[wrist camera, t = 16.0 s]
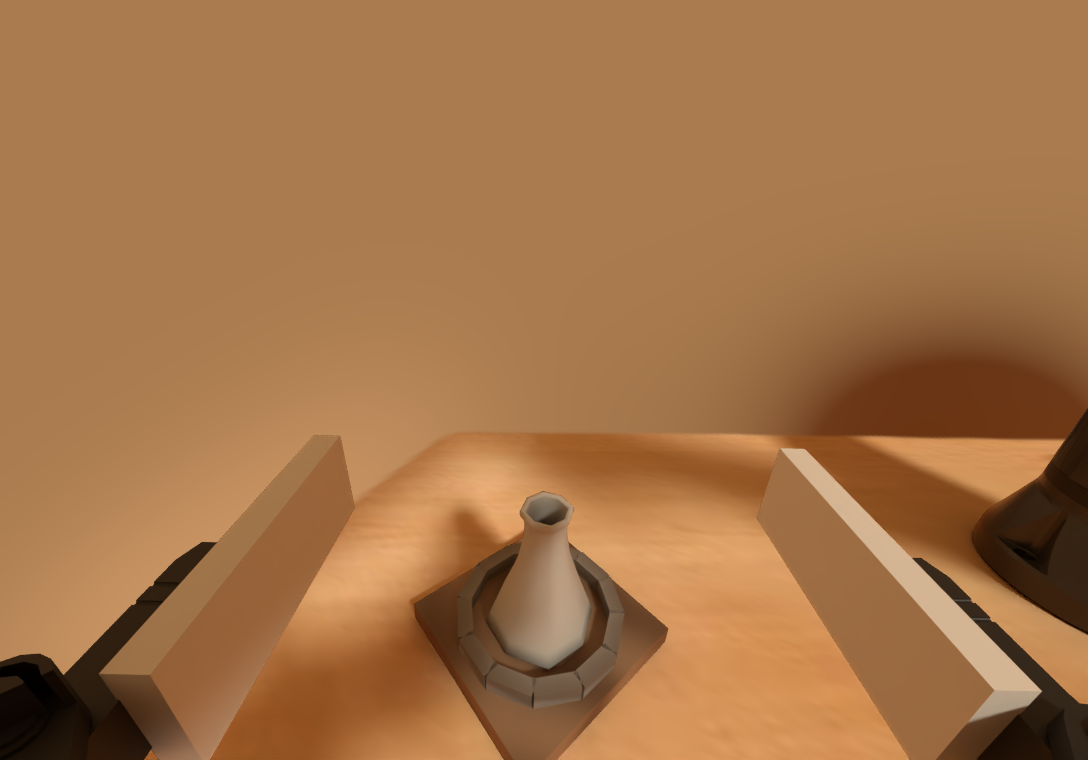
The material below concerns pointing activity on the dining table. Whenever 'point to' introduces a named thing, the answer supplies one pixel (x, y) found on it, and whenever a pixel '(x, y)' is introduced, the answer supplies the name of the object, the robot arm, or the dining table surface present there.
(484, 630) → the walnut seat board
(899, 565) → the robot arm
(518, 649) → the flask
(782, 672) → the dining table surface
